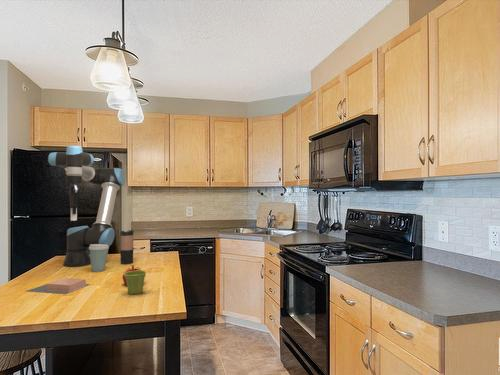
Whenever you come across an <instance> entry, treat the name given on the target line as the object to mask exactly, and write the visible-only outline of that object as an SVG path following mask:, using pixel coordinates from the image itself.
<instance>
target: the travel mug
mask: <svg viewBox="0 0 500 375" xmlns="http://www.w3.org/2000/svg"><path fill="white" fill-rule="evenodd" d="M119 241H120V243H119V244H120V246H119V248H120V249H119V252H120V253H119V254H120V265H131V264H132V265H133V264H134V230H127V231H124V230H121V231H120V240H119Z"/></svg>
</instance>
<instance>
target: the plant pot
mask: <svg viewBox="0 0 500 375" xmlns="http://www.w3.org/2000/svg"><path fill="white" fill-rule="evenodd" d="M125 272H126V271H125ZM125 272H123V274H124V275H125V278H126V282H127V286H126V287H127V288H126V289H127V294H129V295H139V294H142V293H143V292H144V285H145V277H146V274H147V271H146V270H142V271H130V272H126V273H125Z"/></svg>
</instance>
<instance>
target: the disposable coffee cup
mask: <svg viewBox="0 0 500 375" xmlns="http://www.w3.org/2000/svg"><path fill="white" fill-rule="evenodd" d="M109 249H110V246H108V245H106V244H91V245H90V246H89V247H88V252H89V255H90V259H91V264H90V265H91V266H90V267H91V271H92V272H94V273H101V272H104V271H105V269H106V265H107V259H108V253H109Z"/></svg>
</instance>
